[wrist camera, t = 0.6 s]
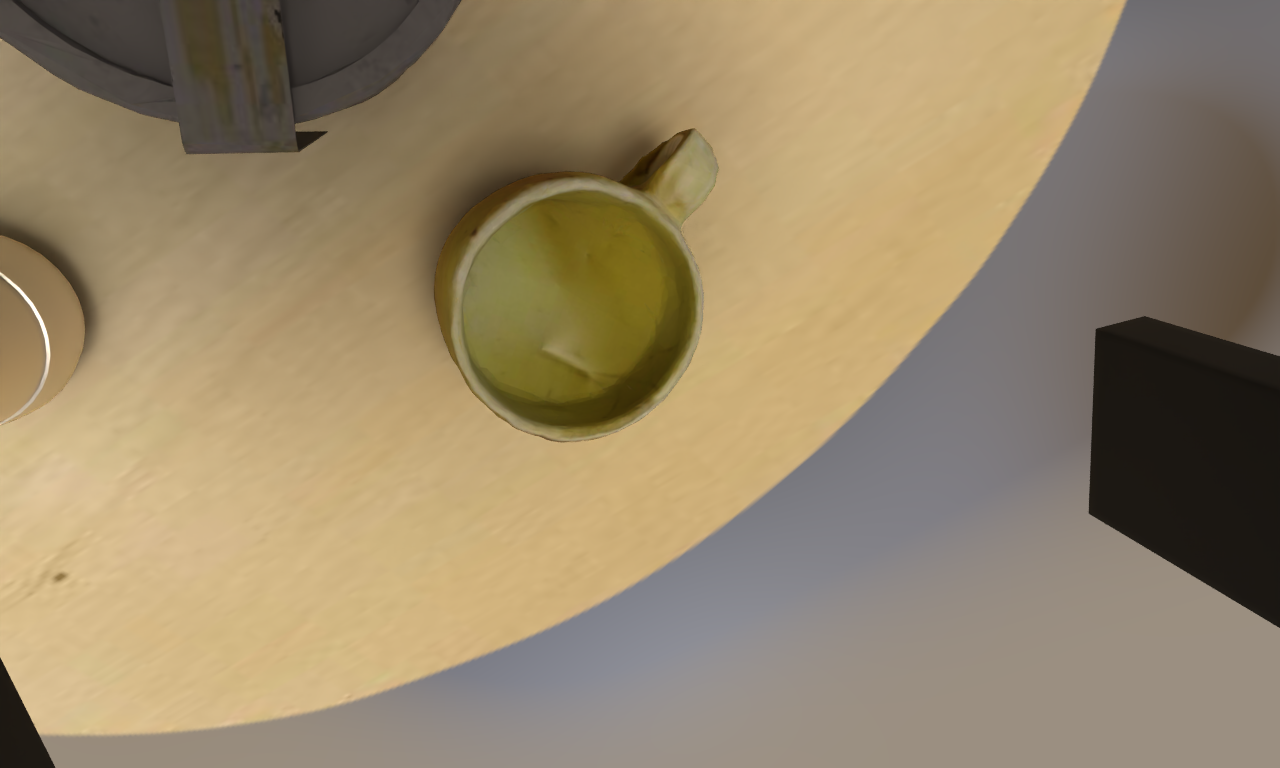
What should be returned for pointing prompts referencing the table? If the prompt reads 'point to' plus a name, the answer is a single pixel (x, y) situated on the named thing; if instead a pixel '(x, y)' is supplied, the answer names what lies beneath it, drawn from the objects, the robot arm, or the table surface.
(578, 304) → the mug
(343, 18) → the canister
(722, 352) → the table surface
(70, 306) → the plastic bottle
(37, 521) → the table surface
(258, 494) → the table surface
